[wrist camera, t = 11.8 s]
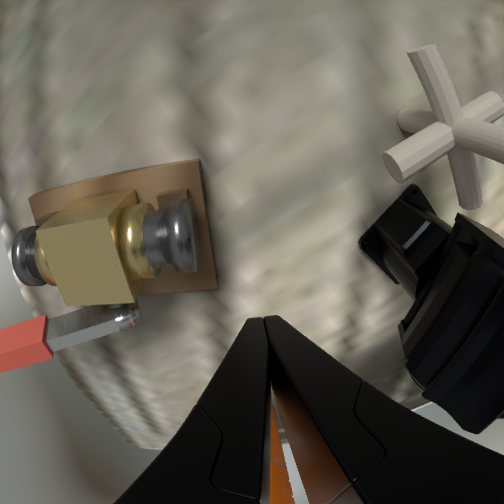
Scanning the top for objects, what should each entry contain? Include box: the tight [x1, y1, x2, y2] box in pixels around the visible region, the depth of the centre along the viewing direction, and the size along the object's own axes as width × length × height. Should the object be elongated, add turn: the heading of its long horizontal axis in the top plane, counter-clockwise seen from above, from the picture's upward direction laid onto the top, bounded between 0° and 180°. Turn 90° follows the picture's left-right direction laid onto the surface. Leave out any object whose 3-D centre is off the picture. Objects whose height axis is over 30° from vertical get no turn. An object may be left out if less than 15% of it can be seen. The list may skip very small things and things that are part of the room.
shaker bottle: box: [269, 405, 295, 504], centre depth 22 cm, size 9×9×20 cm
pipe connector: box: [382, 44, 504, 210], centre depth 12 cm, size 10×10×10 cm
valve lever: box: [0, 299, 142, 373], centre depth 16 cm, size 3×2×13 cm
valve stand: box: [12, 159, 217, 309], centre depth 16 cm, size 13×9×6 cm
